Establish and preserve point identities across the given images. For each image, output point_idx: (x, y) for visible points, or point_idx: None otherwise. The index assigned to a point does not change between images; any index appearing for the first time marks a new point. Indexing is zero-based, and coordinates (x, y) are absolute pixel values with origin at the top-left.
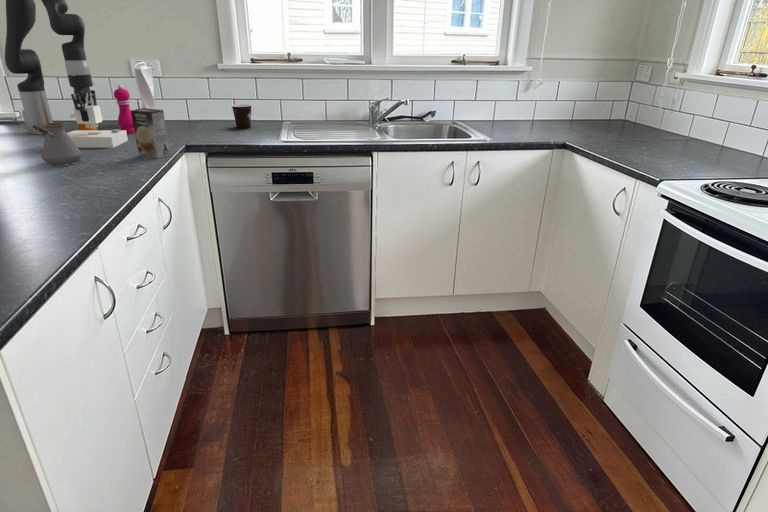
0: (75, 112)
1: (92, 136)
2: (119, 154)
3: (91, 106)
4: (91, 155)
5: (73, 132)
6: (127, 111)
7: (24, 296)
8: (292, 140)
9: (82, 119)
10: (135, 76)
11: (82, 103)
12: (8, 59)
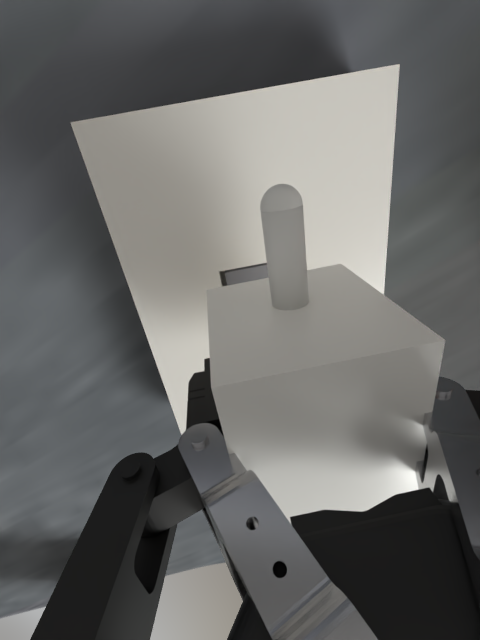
0: (211, 352)
1: (176, 362)
2: (84, 484)
3: (323, 506)
4: (20, 417)
5: (295, 133)
6: None
7: None
8: None
9: (193, 377)
10: None
11: (223, 552)
12: None
